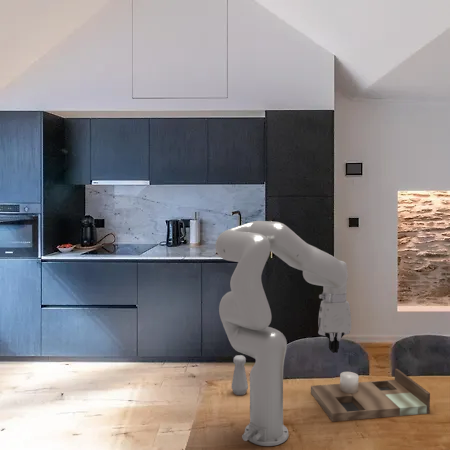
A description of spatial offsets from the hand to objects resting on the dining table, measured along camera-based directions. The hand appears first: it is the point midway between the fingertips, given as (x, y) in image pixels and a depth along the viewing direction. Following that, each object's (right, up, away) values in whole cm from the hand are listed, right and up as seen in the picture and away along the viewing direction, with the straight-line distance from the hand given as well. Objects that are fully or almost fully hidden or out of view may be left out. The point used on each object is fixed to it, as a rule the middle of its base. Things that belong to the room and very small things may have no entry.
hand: (333, 351), depth 154 cm
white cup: (+6, -14, +2) cm, 15 cm away
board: (+11, -16, -2) cm, 20 cm away
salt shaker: (-31, -16, +6) cm, 36 cm away
